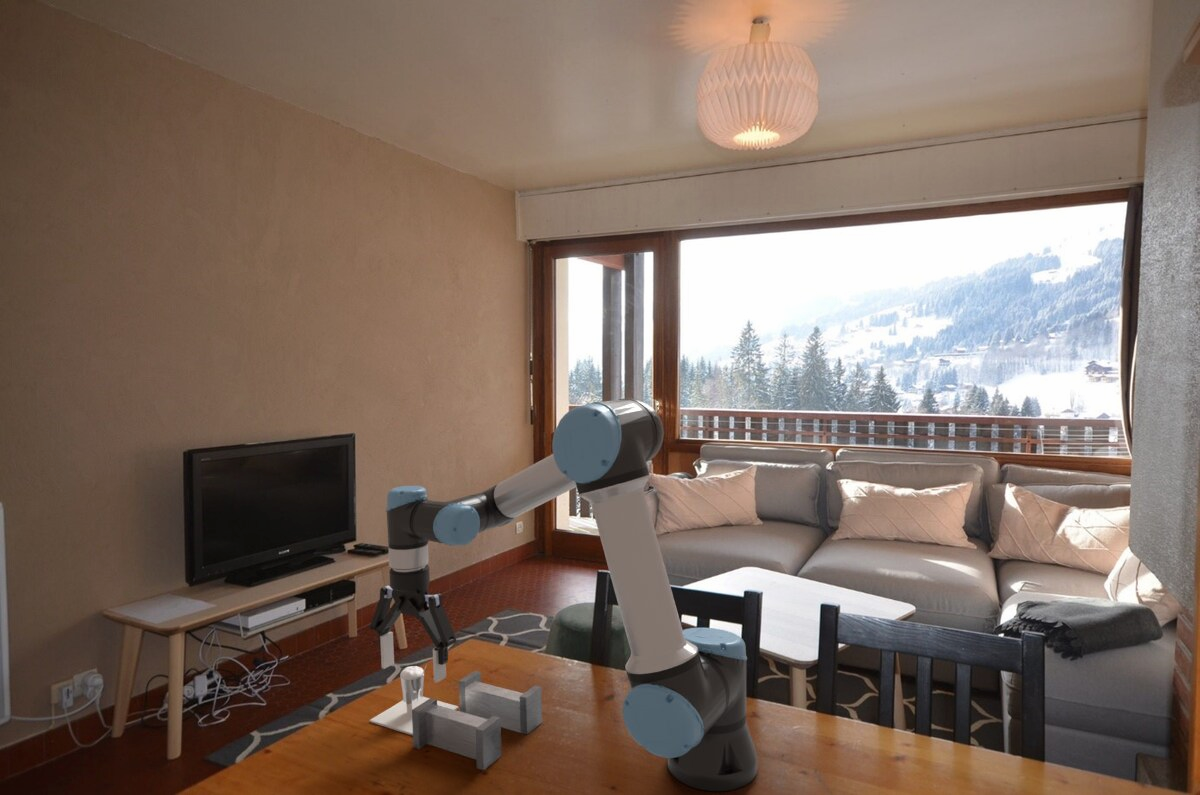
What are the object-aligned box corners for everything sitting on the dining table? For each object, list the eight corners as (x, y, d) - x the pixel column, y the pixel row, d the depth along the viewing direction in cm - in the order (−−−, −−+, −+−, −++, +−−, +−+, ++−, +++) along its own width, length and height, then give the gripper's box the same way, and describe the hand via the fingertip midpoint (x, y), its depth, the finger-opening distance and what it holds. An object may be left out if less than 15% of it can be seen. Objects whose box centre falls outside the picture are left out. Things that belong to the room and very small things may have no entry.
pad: (458, 708, 147) (458, 706, 147) (416, 736, 136) (416, 734, 136) (413, 695, 153) (413, 693, 153) (369, 721, 142) (369, 719, 142)
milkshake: (423, 720, 142) (421, 669, 141) (397, 717, 143) (395, 668, 142) (433, 708, 146) (431, 659, 145) (408, 706, 147) (406, 658, 147)
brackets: (542, 722, 141) (541, 686, 140) (483, 770, 125) (482, 730, 125) (476, 704, 149) (474, 670, 148) (413, 747, 133) (411, 709, 132)
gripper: (472, 569, 140) (475, 677, 141) (377, 553, 152) (381, 653, 153) (446, 580, 133) (450, 693, 135) (348, 563, 145) (353, 667, 147)
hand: (413, 672), depth 144 cm, fingers open, 13 cm apart
